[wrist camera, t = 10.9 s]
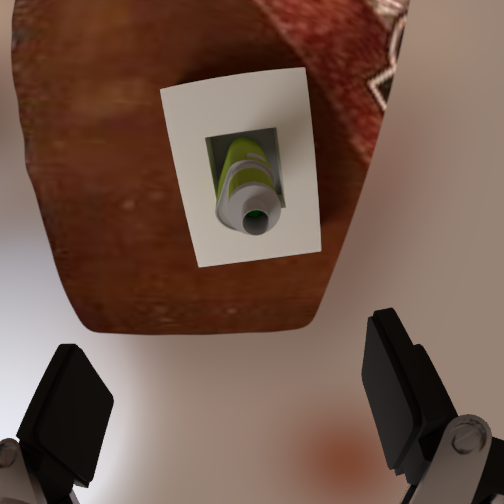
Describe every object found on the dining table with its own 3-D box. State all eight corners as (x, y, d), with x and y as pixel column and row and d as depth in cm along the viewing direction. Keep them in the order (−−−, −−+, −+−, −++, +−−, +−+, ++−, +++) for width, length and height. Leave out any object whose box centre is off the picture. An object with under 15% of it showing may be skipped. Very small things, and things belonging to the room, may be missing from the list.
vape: (265, 141, 35) (301, 200, 17) (248, 189, 37) (263, 289, 20) (234, 131, 34) (235, 178, 17) (217, 180, 37) (203, 273, 19)
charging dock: (171, 89, 32) (159, 89, 28) (296, 70, 32) (305, 67, 27) (203, 245, 42) (198, 267, 37) (312, 231, 41) (321, 251, 36)
